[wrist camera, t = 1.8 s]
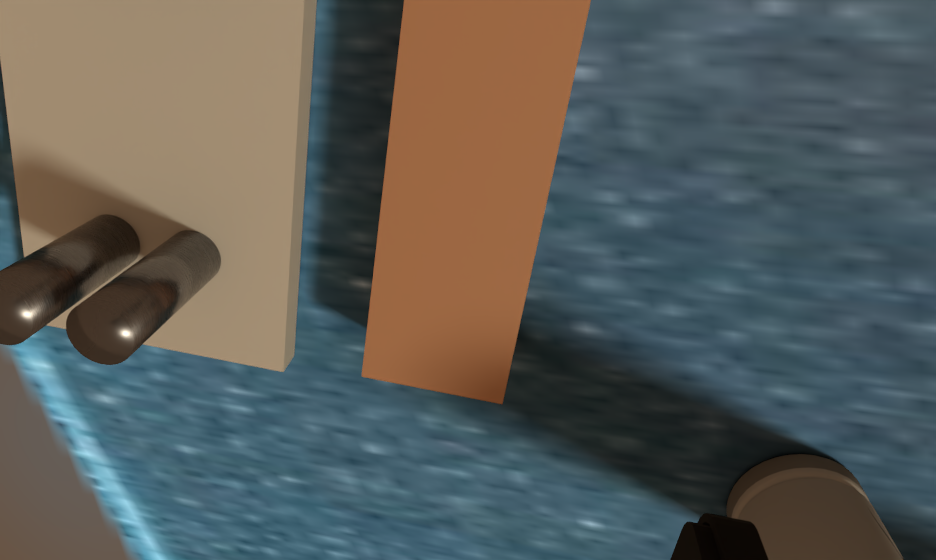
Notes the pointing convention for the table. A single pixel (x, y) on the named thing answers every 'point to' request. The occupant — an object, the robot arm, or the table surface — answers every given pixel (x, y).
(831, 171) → the table surface
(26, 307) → the steel pegs
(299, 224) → the peg base
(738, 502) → the travel mug
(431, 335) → the shelf board
